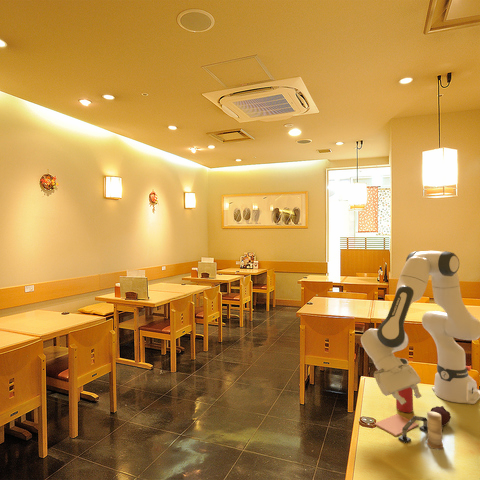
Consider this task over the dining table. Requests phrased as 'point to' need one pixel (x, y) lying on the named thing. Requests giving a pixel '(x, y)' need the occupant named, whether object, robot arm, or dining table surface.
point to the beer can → (408, 396)
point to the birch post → (434, 430)
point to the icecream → (442, 414)
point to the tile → (395, 424)
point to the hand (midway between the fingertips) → (411, 400)
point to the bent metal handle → (410, 422)
